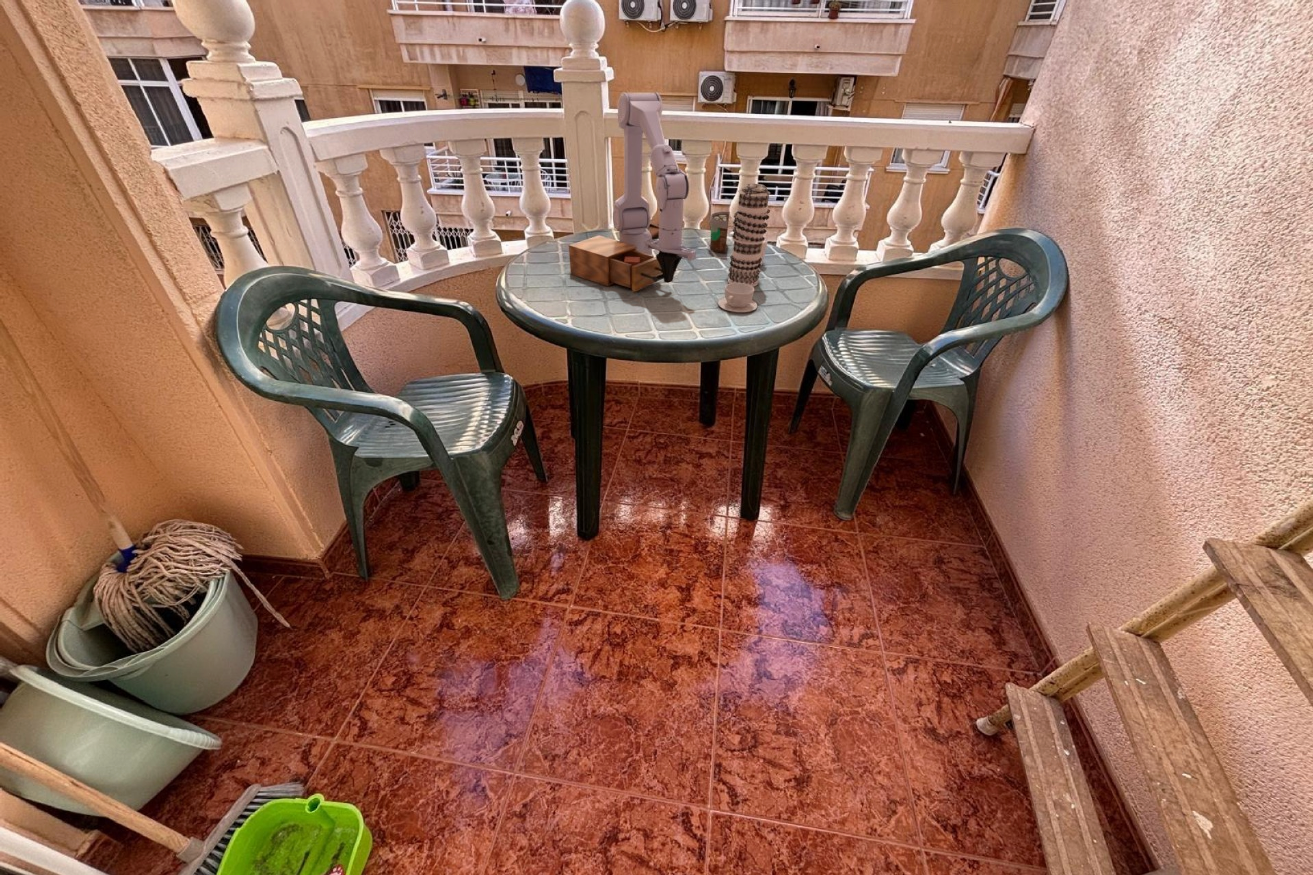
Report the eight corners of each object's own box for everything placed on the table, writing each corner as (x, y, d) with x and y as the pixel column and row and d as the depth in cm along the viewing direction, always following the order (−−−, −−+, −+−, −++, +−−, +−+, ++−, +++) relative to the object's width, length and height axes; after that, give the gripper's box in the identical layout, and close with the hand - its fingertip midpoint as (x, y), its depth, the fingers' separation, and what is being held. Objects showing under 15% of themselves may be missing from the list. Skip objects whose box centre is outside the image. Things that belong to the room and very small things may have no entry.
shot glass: (737, 261, 163) (740, 237, 159) (756, 258, 165) (759, 235, 161) (749, 268, 158) (752, 244, 154) (768, 266, 160) (772, 242, 156)
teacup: (729, 295, 141) (731, 278, 139) (763, 304, 137) (766, 287, 134) (710, 307, 135) (712, 289, 132) (745, 317, 130) (748, 299, 128)
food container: (707, 241, 178) (710, 210, 172) (726, 242, 177) (729, 211, 171) (705, 253, 168) (708, 220, 162) (725, 254, 167) (728, 221, 161)
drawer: (677, 285, 144) (678, 261, 140) (652, 297, 137) (652, 272, 133) (624, 268, 153) (623, 246, 149) (598, 279, 146) (597, 255, 142)
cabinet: (636, 274, 152) (636, 246, 147) (607, 286, 144) (607, 256, 139) (599, 262, 159) (598, 235, 154) (570, 273, 151) (568, 245, 146)
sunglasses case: (648, 240, 175) (641, 220, 174) (635, 247, 181) (627, 227, 179) (681, 229, 187) (675, 210, 185) (668, 236, 192) (661, 217, 190)
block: (625, 274, 147) (625, 256, 144) (639, 274, 147) (639, 257, 144) (624, 279, 144) (623, 261, 141) (638, 279, 144) (638, 262, 141)
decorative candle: (765, 286, 147) (780, 189, 132) (734, 289, 145) (746, 190, 130) (751, 274, 154) (764, 181, 139) (721, 277, 152) (731, 182, 137)
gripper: (704, 229, 129) (700, 283, 137) (656, 218, 136) (655, 270, 144) (687, 236, 125) (684, 291, 133) (639, 224, 132) (639, 277, 140)
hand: (668, 281), depth 138 cm, fingers closed
